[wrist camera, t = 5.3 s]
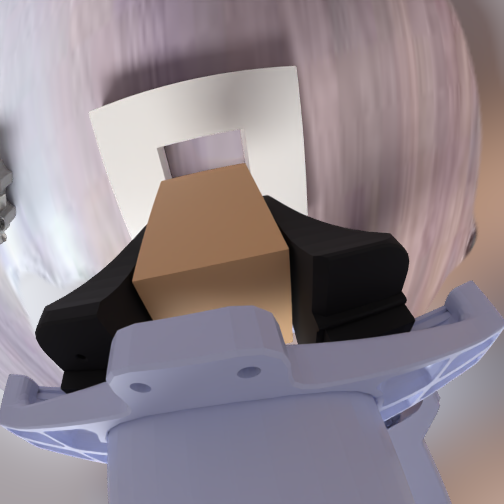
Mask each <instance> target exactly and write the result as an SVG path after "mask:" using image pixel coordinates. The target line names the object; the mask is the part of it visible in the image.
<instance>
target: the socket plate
mask: <svg viewBox="0 0 504 504" xmlns="http://www.w3.org/2000/svg"><path fill="white" fill-rule="evenodd" d="M89 116H90V120H91V123H92V127H93V131H94V134H95V138H96V141H97V144H98V148H99V151H100V154H101V157H102V161H103V164H104V167H105V170H106V173H107V176H108V179H109V181H110V184H111V187H112V190H113V193H114V195H115V198H116V201H117V204H118V206H119V209H120V211H121V214H122V217H123V219H124V222H125V224H126V226H127V229H128V231H129V234H130V236H131V239H132V240H133V239H134V238H135V236H136V235H137V234H138V233H139V232H140V231H141V230H142V229H143V228H144V227H145V226H146V225H147V223H148V220H149V216H150V213H151V210H152V207H153V204H154V201H155V198H156V195H157V192H158V189H159V186H160V183H161V181H164V180H168V179H172V176H171V173H170V169H169V165H168V161H167V158H166V154H165V150H164V146H166V145H170V144H174V143H178V142H182V141H186V140H190V139H195V138H199V137H204V136H208V135H213V134H218V133H223V132H229V131H234V130H240V133H241V139H242V146H243V152H244V158H245V164H246V166H247V167H248V169H249V171H250V173H251V175H252V177H253V179H254V181H255V183H256V185H257V187H258V188H259V190H260V192H261V194H262V196H264V195H269V196H271V197H273V198H274V199H276V200H278V201H279V202H281V203H283V204H284V205H286V206H288V207H290V208H292V209H294V210H296V211H298V212H300V213H302V214H304V215H306V216H308V214H307V189H306V169H305V153H304V139H303V127H302V115H301V104H300V94H299V85H298V76H297V68H296V66H284V67H270V68H260V69H251V70H243V71H235V72H229V73H222V74H217V75H211V76H206V77H201V78H196V79H191V80H187V81H183V82H178V83H174V84H170V85H167V86H163V87H159V88H156V89H152V90H149V91H145V92H142V93H139V94H136V95H133V96H130V97H127V98H124V99H121V100H118V101H115V102H113V103H110V104H107V105H105V106H102V107H100V108H97V109H95V110H92V111H90V112H89Z"/></svg>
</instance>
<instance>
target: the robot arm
mask: <svg viewBox="0 0 504 504" xmlns="http://www.w3.org/2000/svg"><path fill="white" fill-rule="evenodd" d="M263 198H264V200H265V202H266V204H267V206H268V208H269V210H270V212H271V214H272V216H273V218H274V220H275V222H276V224H277V226H278V228H279V230H280V232H281V234H282V236H283V238H284V240H285V242H286V244H287V246H288V248H289V260H290V279H291V302H292V332H295V335H296V339H297V342H298V344H297V345H285V342H284V339H283V336H282V332H281V329H280V326H279V324H278V322H277V321H276V319H275V317H274V316H273V314H272V313H271V312H269V311H266V310H263V309H261V308H258V307H256V306H252V305H248V306H228V307H223V308H218V309H213V310H208V311H203V312H197V313H192V314H187V315H182V316H176V317H171V318H165V319H159V320H153V319H152V317H151V316H150V314H149V312H148V310H147V309H146V307H145V305H144V303H143V301H142V300H141V298H140V296H139V294H138V292H137V290H136V288H135V286H134V285H133V283H132V279H133V275H134V271H135V267H136V263H137V259H138V255H139V251H140V248H141V244H142V240H143V237H144V233H145V230H146V226H147V225H146V226H145V227H144V228H143V229H142V230H141V231H140V232H139V233H138V234H137V235H136V236H135V238H134V239H133V240H132V241H131V242H130V243H129V244H128V245H127V246H126V247H125V248H124V249H123V250H122V252H121V253H120V254H119V255H118V256H117V257H116V258H115V259H114V260H113V261H112V262H110V263H109V264H108V265H107V266H106V267H105V268H104V269H103V270H101V271H100V272H99V273H98V274H96V275H95V276H94V277H92V278H91V279H90V280H88V281H87V282H86V283H84V284H83V285H82V286H80V287H79V288H77V289H76V290H74V291H72V292H71V293H69V294H68V295H66V296H64V297H63V298H61V299H59V300H57V301H55V302H53V303H51V304H50V305H48V306H46V307H45V308H44V311H43V313H42V315H41V318H40V320H39V323H38V325H37V328H36V331H35V335H36V339H37V341H38V343H39V345H40V347H41V348H42V349H43V351H44V352H45V353H46V354H47V355H48V356H49V357H50V358H51V359H52V360H53V361H54V362H55V363H56V364H57V365H58V366H59V367H60V368H61V369H62V370H63V371H64V375H63V379H62V384H61V387H44V386H38V384H37V383H36V382H35V381H33V380H32V379H31V378H29V377H28V376H25V375H17V374H10V375H9V377H8V380H7V384H6V387H5V391H4V395H3V399H2V403H1V408H0V425H1V426H2V427H4V428H5V429H7V430H8V431H10V432H11V433H13V434H15V435H16V436H18V437H20V438H21V439H23V440H25V441H27V442H29V443H30V444H32V445H34V446H36V447H38V448H41V449H45V450H48V451H52V452H57V453H60V454H64V455H68V456H72V457H77V458H81V459H86V460H90V461H95V462H100V463H106V464H107V480H108V503H109V504H452V503H451V501H450V498H449V496H448V493H447V491H446V488H445V486H444V484H443V481H442V479H441V476H440V474H439V471H438V469H437V467H436V465H435V462H434V460H433V458H432V456H431V453H430V451H429V449H428V447H427V445H426V442H425V440H424V437H425V434H426V433H427V431H428V429H429V428H430V426H431V424H432V422H433V420H434V418H435V416H436V414H437V412H438V410H439V407H440V404H439V400H440V397H439V395H438V392H437V390H438V389H440V388H442V387H443V386H445V385H446V384H447V383H449V382H450V381H452V380H453V379H455V378H456V377H458V376H459V375H461V374H462V373H463V372H465V371H466V370H468V369H469V368H471V367H472V366H473V365H475V364H476V363H477V362H478V361H479V360H480V359H481V358H482V357H483V355H484V354H485V353H486V352H487V350H488V349H489V348H490V347H491V345H492V344H493V343H494V341H495V340H496V338H497V337H498V336H499V335H500V333H501V332H502V330H503V329H504V319H503V317H502V316H501V315H500V314H499V312H498V311H497V310H496V308H495V307H494V306H493V304H492V303H491V302H490V301H489V300H488V298H487V297H486V296H485V295H484V294H483V292H482V291H481V290H480V289H479V288H478V287H477V286H476V284H475V283H474V282H473V281H468V282H467V283H464V284H462V285H460V286H458V287H456V288H454V289H453V290H452V291H451V292H450V293H449V295H448V297H447V299H446V301H445V305H444V306H442V307H439V308H437V309H435V310H433V311H431V312H429V313H426V314H424V315H422V316H419V317H417V318H414V317H413V315H412V314H411V313H410V311H409V310H408V308H407V307H406V305H405V303H406V301H407V299H406V297H405V295H404V294H403V293H402V288H403V285H404V282H405V278H406V275H407V272H408V267H409V256H408V253H407V252H406V250H405V248H404V247H403V246H402V245H401V244H400V243H399V242H398V241H397V240H396V239H395V238H394V237H393V236H392V235H391V234H390V233H378V232H366V231H359V230H353V229H348V228H343V227H339V226H335V225H331V224H328V223H325V222H322V221H319V220H316V219H313V218H311V217H308V216H306V215H304V214H302V213H300V212H298V211H296V210H294V209H292V208H290V207H288V206H286V205H284V204H283V203H281V202H279V201H278V200H276V199H274V198H273V197H271V196H269V195H264V196H263Z"/></svg>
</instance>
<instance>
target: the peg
mask: <svg viewBox="0 0 504 504" xmlns="http://www.w3.org/2000/svg"><path fill="white" fill-rule="evenodd" d="M132 283H133V285H134V286H135V288H136V290H137V292H138V294H139V296H140V298H141V300H142V301H143V303H144V305H145V307H146V309H147V310H148V312H149V314H150V316H151V317H152V319H153V320H159V319H165V318H171V317H176V316H182V315H187V314H192V313H197V312H203V311H208V310H213V309H218V308H223V307H228V306H248V305H252V306H256V307H258V308H261V309H263V310H266V311H269V312H271V313H272V314H273V316H274V317H275V319H276V321H277V322H278V324H279V326H280V329H281V332H282V336H283V339H284V342H285V344H286V343H290V342H293V332H292V302H291V279H290V260H289V248H288V246H287V244H286V242H285V240H284V238H283V236H282V234H281V232H280V230H279V228H278V226H277V224H276V222H275V220H274V218H273V216H272V214H271V212H270V210H269V208H268V206H267V204H266V202H265V200H264V198H263V196H262V194H261V192H260V190H259V188H258V187H257V185H256V183H255V181H254V179H253V177H252V175H251V173H250V171H249V169H248V167H247V166H246V164H245V163H242V164H237V165H231V166H226V167H221V168H216V169H211V170H207V171H202V172H197V173H193V174H189V175H184V176H180V177H176V178H172V179H168V180H164V181H161V183H160V186H159V189H158V192H157V195H156V198H155V201H154V204H153V207H152V210H151V213H150V216H149V220H148V223H147V226H146V230H145V233H144V237H143V240H142V244H141V248H140V251H139V255H138V259H137V263H136V267H135V271H134V275H133V279H132Z"/></svg>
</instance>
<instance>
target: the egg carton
mask: <svg viewBox="0 0 504 504" xmlns="http://www.w3.org/2000/svg"><path fill="white" fill-rule="evenodd" d="M12 182H13V177H12V172H11V171H10V170H8V169H7V168H6V167H5V165H4V162H3V160H2V159H0V217H1V219H3V220H4V221H5V226H4V225H3V224H2V221H1V219H0V244H2V243H3V242H5V241H6V238H7V237H6V234H5V233H4V231H5V230H6V229H7V228H8V227H9V226H10V222H11V221H12V220H13V219H14V218H15V216H16V209H15V206H13V205H11V204H10V203H9V202H8V200H7V198H6V194H5V190H6V187H7V186H8V185H10V184H11V183H12Z"/></svg>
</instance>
